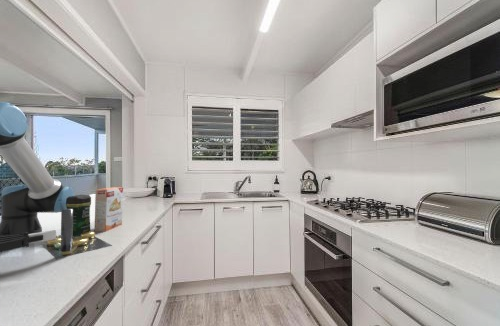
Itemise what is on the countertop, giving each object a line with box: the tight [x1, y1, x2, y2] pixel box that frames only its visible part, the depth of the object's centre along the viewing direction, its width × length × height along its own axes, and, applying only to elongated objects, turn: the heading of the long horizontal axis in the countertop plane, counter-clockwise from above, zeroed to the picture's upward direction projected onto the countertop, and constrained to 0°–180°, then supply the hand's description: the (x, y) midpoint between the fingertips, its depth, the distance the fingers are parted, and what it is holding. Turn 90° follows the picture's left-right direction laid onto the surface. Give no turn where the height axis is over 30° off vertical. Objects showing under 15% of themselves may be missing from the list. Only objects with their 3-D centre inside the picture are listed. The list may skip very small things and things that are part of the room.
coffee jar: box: [66, 194, 92, 237], centre depth 106 cm, size 10×8×19 cm
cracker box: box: [93, 186, 124, 233], centre depth 117 cm, size 14×6×21 cm, turn 179°
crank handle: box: [60, 209, 89, 255], centre depth 87 cm, size 17×7×16 cm, turn 22°
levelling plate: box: [41, 230, 113, 260], centre depth 90 cm, size 22×17×3 cm
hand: (55, 234), depth 77 cm, fingers closed
